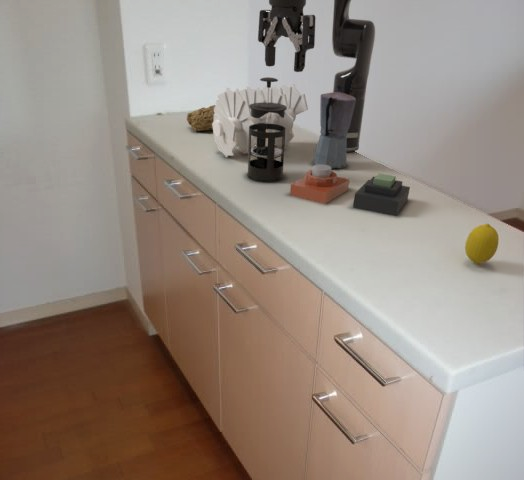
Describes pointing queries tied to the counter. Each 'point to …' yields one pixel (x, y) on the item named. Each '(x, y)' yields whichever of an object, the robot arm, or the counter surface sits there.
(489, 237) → the lemon
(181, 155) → the counter surface
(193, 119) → the sponge
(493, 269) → the counter surface
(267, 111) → the french press
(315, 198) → the orange button block
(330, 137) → the moka pot
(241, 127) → the spiral staircase
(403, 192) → the dark square push button
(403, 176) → the counter surface
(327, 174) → the pale grey round puck
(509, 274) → the counter surface
